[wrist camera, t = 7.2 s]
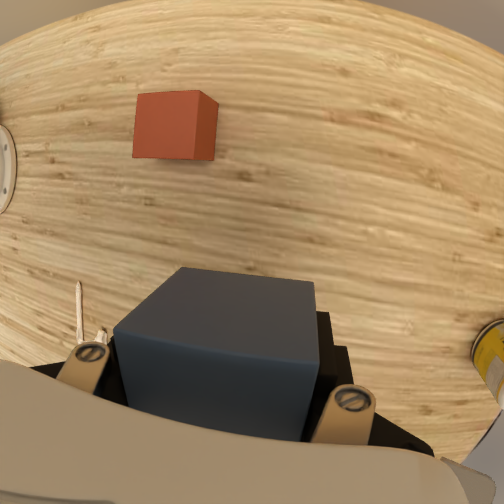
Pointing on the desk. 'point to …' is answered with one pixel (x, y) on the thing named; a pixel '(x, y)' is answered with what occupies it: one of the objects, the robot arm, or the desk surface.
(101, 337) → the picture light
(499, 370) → the pill bottle
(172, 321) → the gray block
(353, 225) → the desk surface
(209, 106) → the terracotta block
